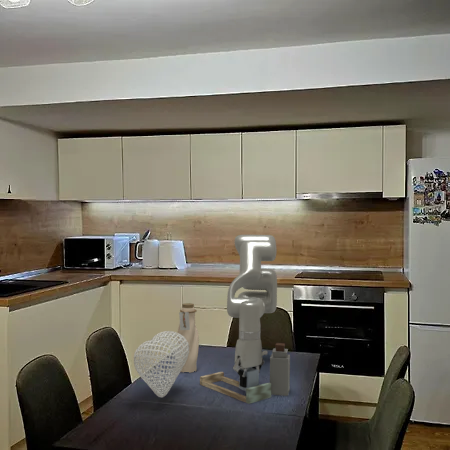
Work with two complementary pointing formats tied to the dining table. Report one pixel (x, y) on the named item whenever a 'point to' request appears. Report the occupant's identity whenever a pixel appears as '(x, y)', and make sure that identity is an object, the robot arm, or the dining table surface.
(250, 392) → the track
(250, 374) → the grey rectangular block
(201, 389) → the dining table surface
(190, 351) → the water bottle
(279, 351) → the perfume bottle
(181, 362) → the heart
